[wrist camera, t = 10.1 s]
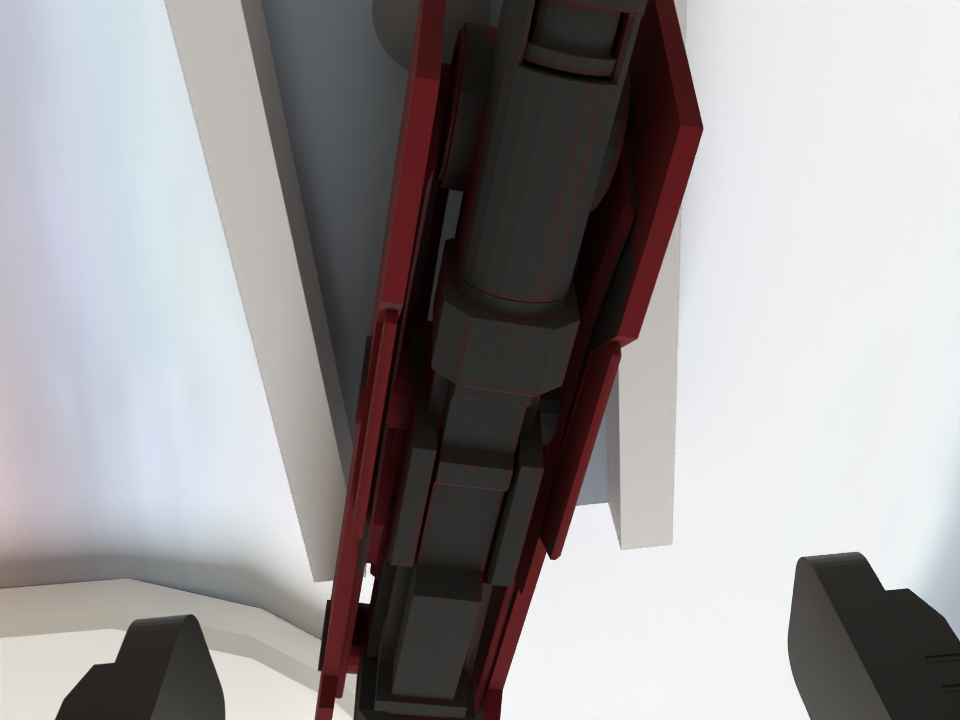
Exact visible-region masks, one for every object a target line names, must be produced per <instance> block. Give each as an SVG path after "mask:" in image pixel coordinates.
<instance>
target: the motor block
mask: <svg viewBox="0 0 960 720" xmlns="http://www.w3.org/2000/svg"><path fill="white" fill-rule="evenodd" d="M164 2H165V6H166V10H167V14H168V18H169V21H170V25H171V29H172V33H173V37H174V41H175V45H176V48H177V52H178V56H179V60H180V64H181V68H182V72H183V76H184V79H185V83H186V87H187V91H188V95H189V99H190V103H191V107H192V110H193V114H194V118H195V122H196V126H197V130H198V134H199V138H200V141H201V145H202V149H203V153H204V157H205V161H206V165H207V169H208V172H209V176H210V180H211V184H212V188H213V192H214V196H215V199H216V203H217V207H218V211H219V215H220V219H221V223H222V227H223V230H224V234H225V238H226V242H227V246H228V250H229V254H230V258H231V261H232V265H233V269H234V273H235V277H236V281H237V285H238V289H239V292H240V296H241V300H242V304H243V308H244V312H245V316H246V320H247V323H248V327H249V331H250V335H251V339H252V343H253V347H254V350H255V354H256V358H257V362H258V366H259V370H260V374H261V378H262V381H263V385H264V389H265V393H266V397H267V401H268V405H269V409H270V412H271V416H272V420H273V424H274V428H275V432H276V436H277V440H278V443H279V447H280V451H281V455H282V459H283V463H284V467H285V470H286V474H287V478H288V482H289V486H290V490H291V494H292V498H293V501H294V505H295V509H296V513H297V517H298V521H299V525H300V529H301V532H302V536H303V540H304V544H305V548H306V552H307V556H308V560H309V563H310V567H311V571H312V575H313V579H314V582H321V581H331V580H334V574H335V568H336V561H337V554H338V547H339V541H340V534H341V527H342V520H343V514H344V507H345V500H346V493H347V487H348V480H349V473H350V466H351V460H352V453H353V446H354V439H355V433H356V426H357V424H356V423H355V413H356V405H357V398H358V390H359V383H360V375H361V368H362V361H363V354H364V348H365V341H366V335H368V336H370V331H371V324H372V318H373V311H374V304H375V297H376V291H377V284H378V277H379V270H380V263H381V257H382V250H383V243H384V236H385V230H386V223H387V216H388V209H389V202H390V196H391V189H392V182H393V175H394V168H395V161H396V154H397V148H398V141H399V134H400V127H401V121H402V114H403V108H404V101H405V95H406V88H407V82H408V75H409V69H410V62H411V56H412V49H413V42H414V36H415V29H416V23H417V16H418V10H419V3H420V0H164ZM502 3H503V0H446V9H445V23H444V36H443V49H442V62H441V63H446V64H451V61H452V56H453V51H454V47H455V43H456V39H457V36H458V32H459V31H460V29H462V28H463V25H464V24H465V23H466V22H468V23H473V24H478V25H484V26H489V27H494V28H498V24H499V18H500V13H501V8H502ZM674 3H675V8H676V12H677V16H678V21H679V25H680V29H681V33H682V38H683V42H684V46H685V34H686V0H674ZM462 195H463V192H462V191H456V190H450V189H449V194H448V200H447V205H446V211H445V216H444V222H443V228H442V233H441V239H440V245H439V251H438V257H437V264H436V270H435V276H434V283H433V289H432V295H431V302H430V308H429V315H428V321H433V303H434V298H435V293H436V287H437V282H438V276H439V271H440V266H441V260H442V255H443V249H444V244H445V240H447V239H451V238H454V236H455V231H456V226H457V221H458V216H459V211H460V206H461V200H462ZM680 228H681V206H680V209H679V213H678V216H677V219H676V222H675V225H674V228H673V231H672V235H671V238H670V241H669V244H668V247H667V250H666V253H665V256H664V259H663V262H662V266H661V269H660V272H659V275H658V278H657V281H656V284H655V287H654V290H653V293H652V297H651V300H650V303H649V306H648V309H647V312H646V315H645V318H644V321H643V324H642V327H641V331H640V334H639V337H638V339H637V340H635V341H633V342H631V343H630V344H628V345H626V346H624V347H622V348H621V356H622V357H621V360H620V363H619V367H618V370H617V373H616V376H615V380H614V383H613V386H612V389H611V393H610V396H609V399H608V402H607V406H606V409H605V412H604V415H603V419H602V422H601V425H600V428H599V432H598V435H597V438H596V441H595V445H594V448H593V451H592V454H591V458H590V461H589V464H588V467H587V471H586V474H585V477H584V480H583V484H582V487H581V490H580V493H579V497H578V500H577V503H576V506H578V505H588V504H597V503H607V502H608V503H609V507H610V510H611V514H612V518H613V522H614V525H615V529H616V533H617V536H618V540H619V544H620V548H621V550H626V549H636V548H645V547H655V546H664V545H672V539H673V500H674V461H675V422H676V383H677V345H678V306H679V267H680ZM366 564H367V563H366ZM365 576H366V565H365V568H364V574H363V577H365Z"/></svg>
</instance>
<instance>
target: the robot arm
mask: <svg viewBox="0 0 960 720" xmlns="http://www.w3.org/2000/svg"><path fill="white" fill-rule="evenodd" d="M788 653H789V660H790V665H791V670H792V674H793V677H794V680H795V683H796V686H797V688H798V691H799V693H800V696H801V698H802V700H803V703H804V705H805V707H806V710H807V712H808V714H809V717H810V719H811V720H960V641H959V639H958V638H957V636H956V635H955V633H954V632H953V630H952V629H951V627H950V626H949V624H948V622H947V621H946V619H945V618H944V617H943V616H942V615H941V614H939V613H938V612H937V611H936V610H934V609H933V608H932V607H931V606H930V605H928V604H927V603H926V602H925V601H923V600H922V599H921V598H920V597H918V596H917V595H916V594H915V593H913V592H912V591H911V590H910V589H908V588H907V589H897V590H886V591H885V589H884V588H883V586H882V584H881V582H880V581H879V579H878V577H877V576H876V574H875V572H874V571H873V569H872V567H871V566H870V564H869V562H868V561H867V559H866V558H865V557H864V556H863V555H862V554H861V553H859V552H849V553H839V554H829V555H818V556H808V557H801V558H799V560H798V562H797V565H796V571H795V580H794V588H793V597H792V605H791V613H790V622H789V630H788ZM55 720H225V700H224V694H223V690H222V686H221V683H220V680H219V678H218V675H217V672H216V669H215V666H214V663H213V661H212V658H211V655H210V652H209V649H208V646H207V644H206V641H205V638H204V635H203V632H202V629H201V627H200V624H199V621H198V620H197V618H196V617H195V616H194V615H192V614H188V615H177V616H167V617H157V618H146V619H136V620H135V621H133V622H132V623H131V625H130V626H129V628H128V630H127V632H126V635H125V637H124V640H123V642H122V645H121V647H120V650H119V652H118V655H117V658H116V660H115V663H105V664H95V665H93V666H92V667H91V668H90V670H89V671H88V672H87V673H86V674H85V675H84V676H83V678H82V679H81V680H80V681H79V682H78V683H77V684H76V686H75V687H74V688H73V689H72V690H71V691H70V693H69V694H68V695H67V696H66V697H65V698H64V700H63V702H62V704H61V707H60V709H59V711H58V713H57V716H56V718H55Z"/></svg>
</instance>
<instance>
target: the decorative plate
mask: <svg viewBox="0 0 960 720" xmlns="http://www.w3.org/2000/svg"><path fill="white" fill-rule="evenodd" d="M188 614H192V615H194V616H195V617H196V618H197V620H198V621H199V624H200V627H201V629H202V632H203V635H204V638H205V641H206V644H207V646H208V649H209V652H210V655H211V658H212V661H213V663H214V666H215V669H216V672H217V675H218V678H219V680H220V683H221V686H222V690H223V694H224V700H225V720H315V712H316V705H317V697H318V690H319V682H320V675H321V671H318V663H319V656H320V648H321V640H320V639H318V638H316V637H314V636H312V635H310V634H309V633H307V632H305V631H303V630H301V629H299V628H298V627H296V626H294V625H292V624H290V623H288V622H286V621H285V620H283V619H281V618H279V617H277V616H275V615H274V614H272V613H270V612H268V611H266V610H264V609H261V608H257V607H252V606H247V605H243V604H238V603H234V602H230V601H225V600H221V599H216V598H212V597H208V596H203V595H199V594H195V593H190V592H186V591H181V590H177V589H173V588H168V587H164V586H159V585H155V584H151V583H146V582H142V581H138V580H133V579H129V578H126V579H113V580H101V581H89V582H77V583H65V584H53V585H41V586H28V587H16V588H4V589H0V720H55V718H56V716H57V713H58V711H59V709H60V707H61V704H62V702H63V700H64V698H65V697H66V696H67V695H68V694H69V693H70V691H71V690H72V689H73V688H74V687H75V686H76V684H77V683H78V682H79V681H80V680H81V679H82V678H83V676H84V675H85V674H86V673H87V672H88V671H89V670H90V668H91V667H92V666H93V665H95V664H105V663H115V660H116V658H117V655H118V652H119V650H120V647H121V645H122V642H123V640H124V637H125V635H126V632H127V630H128V628H129V626H130V625H131V623H132V622H133V621H135V620H136V619H146V618H157V617H167V616H177V615H188ZM356 680H357V674H348V673H347V674H346V679H345V685H344V691H343V697H342V698H341V699H338V698H335V704H334V711H333V717H332V720H353V718H354V705H355V693H356Z"/></svg>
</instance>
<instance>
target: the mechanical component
mask: <svg viewBox="0 0 960 720" xmlns="http://www.w3.org/2000/svg"><path fill="white" fill-rule="evenodd" d="M445 9H446V0H420V3H419V10H418V16H417V23H416V29H415V36H414V42H413V49H412V56H411V62H410V69H409V75H408V82H407V88H406V95H405V101H404V108H403V114H402V121H401V127H400V134H399V141H398V148H397V154H396V161H395V168H394V175H393V182H392V189H391V196H390V202H389V209H388V216H387V223H386V230H385V236H384V243H383V250H382V257H381V263H380V270H379V277H378V284H377V291H376V297H375V304H374V311H373V318H372V324H371V331H370V336H368V335H366V341H365V348H364V354H363V361H362V368H361V375H360V383H359V390H358V398H357V405H356V413H355V423H356V424H357V426H356V433H355V439H354V446H353V453H352V460H351V466H350V473H349V480H348V487H347V493H346V500H345V507H344V514H343V520H342V527H341V534H340V541H339V547H338V554H337V561H336V568H335V574H334V581H333V588H332V595H331V600H327V604H326V611H325V618H324V625H323V633H322V640H321V648H320V656H319V663H318V671H321V675H320V682H319V690H318V697H317V705H316V712H315V720H332V717H333V711H334V704H335V698H338V699H341V698H342V697H343V691H344V685H345V679H346V674H347V673H348V674H357V680H356V693H355V705H354V718H353V720H500V714H501V703H502V692H503V687H504V684H505V681H506V678H507V675H508V672H509V669H510V665H511V662H512V659H513V656H514V653H515V650H516V647H517V643H518V640H519V637H520V634H521V631H522V628H523V625H524V621H525V618H526V615H527V612H528V609H529V606H530V603H531V599H532V596H533V593H534V590H535V587H536V584H537V580H538V577H539V574H540V571H541V568H542V565H543V562H544V558H545V555H546V552H547V553H548V556H549V558H550V560H556V559H557V558H558V557H560V555H561V552H562V549H563V545H564V542H565V539H566V536H567V532H568V529H569V526H570V523H571V519H572V516H573V513H574V510H575V506H576V503H577V500H578V497H579V493H580V490H581V487H582V484H583V480H584V477H585V474H586V471H587V467H588V464H589V461H590V458H591V454H592V451H593V448H594V445H595V441H596V438H597V435H598V432H599V428H600V425H601V422H602V419H603V415H604V412H605V409H606V406H607V402H608V399H609V396H610V393H611V389H612V386H613V383H614V380H615V376H616V373H617V370H618V367H619V363H620V360H621V357H622V356H621V348H622V347H624V346H626V345H628V344H630V343H631V342H633V341H635V340H637V339H638V337H639V334H640V331H641V327H642V324H643V321H644V318H645V315H646V312H647V309H648V306H649V303H650V300H651V297H652V293H653V290H654V287H655V284H656V281H657V278H658V275H659V272H660V269H661V266H662V262H663V259H664V256H665V253H666V250H667V247H668V244H669V241H670V238H671V235H672V231H673V228H674V225H675V222H676V219H677V216H678V213H679V209H680V206H681V203H682V199H683V196H684V192H685V189H686V186H687V182H688V179H689V176H690V172H691V169H692V166H693V162H694V159H695V155H696V152H697V149H698V145H699V142H700V139H701V135H702V132H703V124H702V120H701V116H700V111H699V107H698V103H697V98H696V94H695V90H694V85H693V81H692V77H691V72H690V68H689V64H688V59H687V55H686V51H685V46H684V42H683V38H682V33H681V29H680V25H679V21H678V16H677V12H676V8H675V3H674V0H503V3H502V8H501V13H500V18H499V24H498V28H494V27H489V26H484V25H478V24H473V23H468V22H466V23H465V24H464V25H463V28H462V29H460V31H459V32H458V36H457V39H456V43H455V47H454V51H453V56H452V61H451V64H446V63H441V62H442V49H443V36H444V23H445ZM449 189H450V190H456V191H462V192H463V195H462V200H461V206H460V211H459V216H458V221H457V226H456V231H455V236H454V238H451V239H447V240H445V244H444V249H443V255H442V260H441V266H440V271H439V276H438V282H437V287H436V293H435V298H434V303H433V321H428V315H429V308H430V302H431V295H432V289H433V283H434V276H435V270H436V264H437V257H438V251H439V245H440V239H441V233H442V228H443V222H444V216H445V211H446V205H447V200H448V194H449ZM366 563H371V569H370V573H371V574H372V575H373V576H374V577H375V579H374V585H373V590H372V596H371V601H370V604H365V603H359V598H360V592H361V586H362V580H363V574H364V568H365V565H366Z"/></svg>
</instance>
